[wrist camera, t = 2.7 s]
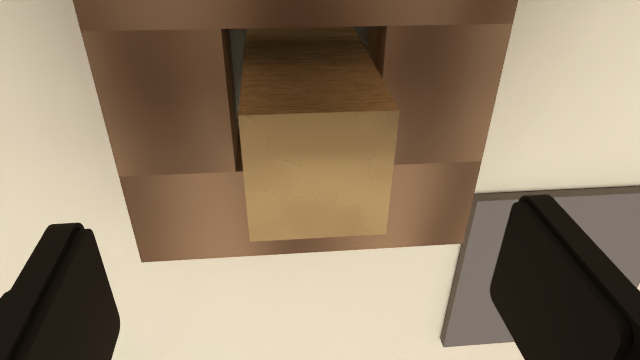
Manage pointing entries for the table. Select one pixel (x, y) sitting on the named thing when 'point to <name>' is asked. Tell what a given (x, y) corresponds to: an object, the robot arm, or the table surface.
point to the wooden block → (314, 135)
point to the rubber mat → (486, 238)
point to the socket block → (222, 124)
